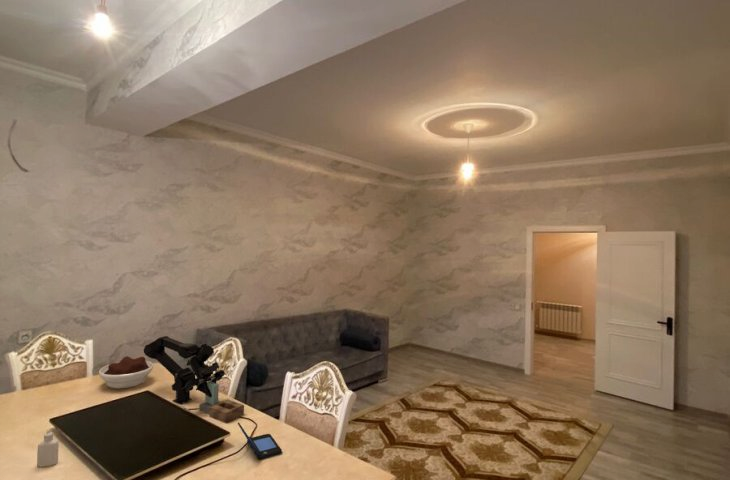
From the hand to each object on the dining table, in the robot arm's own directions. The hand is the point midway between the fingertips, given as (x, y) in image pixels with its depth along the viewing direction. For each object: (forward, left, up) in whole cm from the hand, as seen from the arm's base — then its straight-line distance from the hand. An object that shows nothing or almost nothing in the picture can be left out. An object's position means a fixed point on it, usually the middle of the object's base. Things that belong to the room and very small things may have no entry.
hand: (213, 395), depth 179 cm
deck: (-1, 0, -7) cm, 7 cm away
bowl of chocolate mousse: (-63, -5, -7) cm, 64 cm away
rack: (+9, 0, -7) cm, 11 cm away
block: (-1, 0, -4) cm, 4 cm away
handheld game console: (+41, -12, -7) cm, 43 cm away
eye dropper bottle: (-12, -59, -7) cm, 61 cm away
